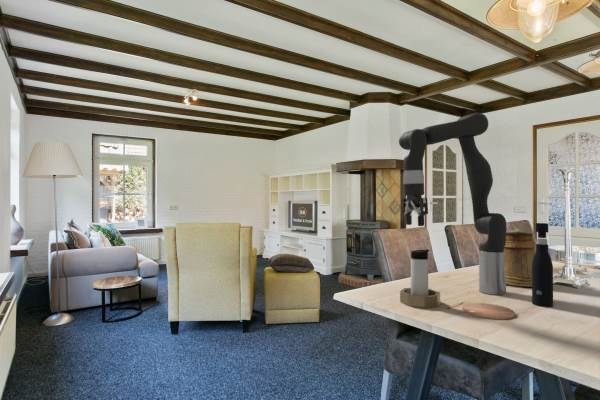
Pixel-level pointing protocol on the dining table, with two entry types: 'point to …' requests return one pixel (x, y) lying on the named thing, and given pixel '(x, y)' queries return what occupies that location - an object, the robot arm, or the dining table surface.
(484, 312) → the coaster
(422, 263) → the travel mug
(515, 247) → the tankard
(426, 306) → the collar ring
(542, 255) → the black water bottle
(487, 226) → the robot arm
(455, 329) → the dining table surface
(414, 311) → the dining table surface
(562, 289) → the dining table surface
